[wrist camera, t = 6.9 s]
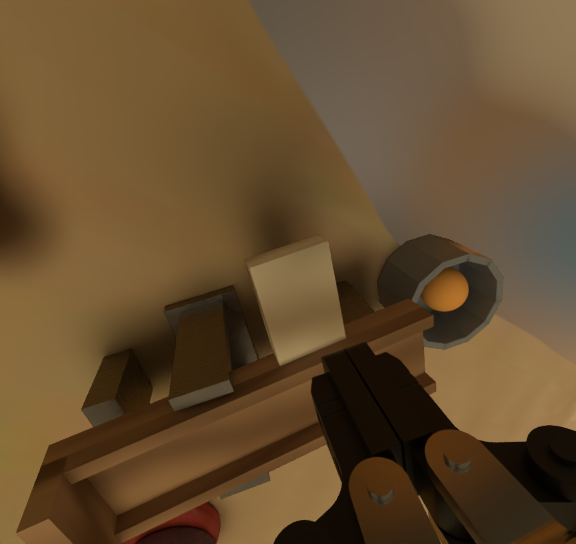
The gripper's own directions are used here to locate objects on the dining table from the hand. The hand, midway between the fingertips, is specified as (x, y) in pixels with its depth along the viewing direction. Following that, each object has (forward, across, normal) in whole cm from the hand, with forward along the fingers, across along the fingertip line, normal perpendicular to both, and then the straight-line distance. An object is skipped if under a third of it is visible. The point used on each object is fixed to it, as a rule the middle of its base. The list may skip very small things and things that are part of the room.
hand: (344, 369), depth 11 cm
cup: (+14, -11, +7) cm, 19 cm away
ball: (+12, -12, +7) cm, 18 cm away
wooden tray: (+7, +4, +4) cm, 9 cm away
